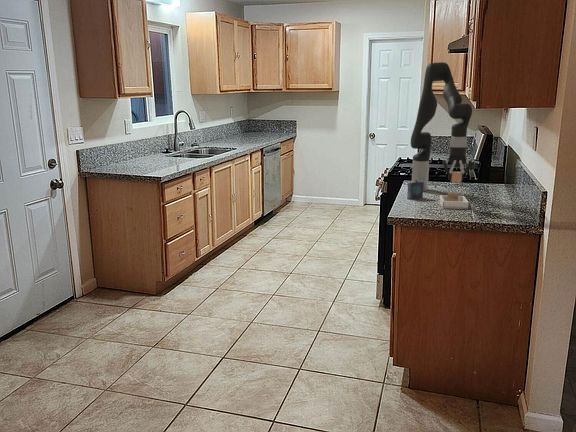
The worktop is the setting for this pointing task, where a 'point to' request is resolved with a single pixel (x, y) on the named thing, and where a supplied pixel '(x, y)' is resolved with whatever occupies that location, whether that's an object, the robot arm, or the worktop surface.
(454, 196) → the walnut block
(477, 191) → the worktop surface
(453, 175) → the terracotta block
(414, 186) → the flask
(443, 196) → the tray
